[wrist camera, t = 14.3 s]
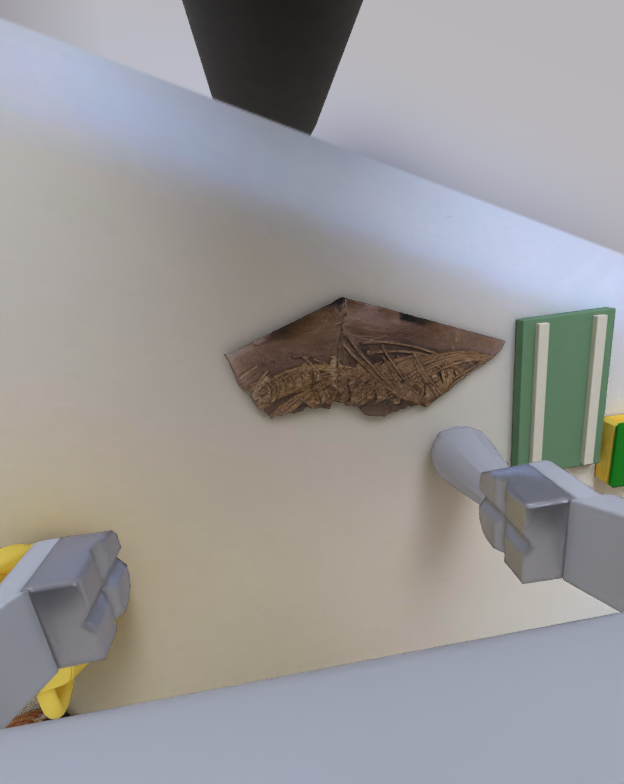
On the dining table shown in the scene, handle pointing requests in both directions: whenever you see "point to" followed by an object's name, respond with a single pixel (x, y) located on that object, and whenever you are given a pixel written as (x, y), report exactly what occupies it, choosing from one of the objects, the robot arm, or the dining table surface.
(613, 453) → the dish sponge
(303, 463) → the dining table surface
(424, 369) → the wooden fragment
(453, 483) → the salt shaker
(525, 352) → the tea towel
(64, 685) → the teapot
